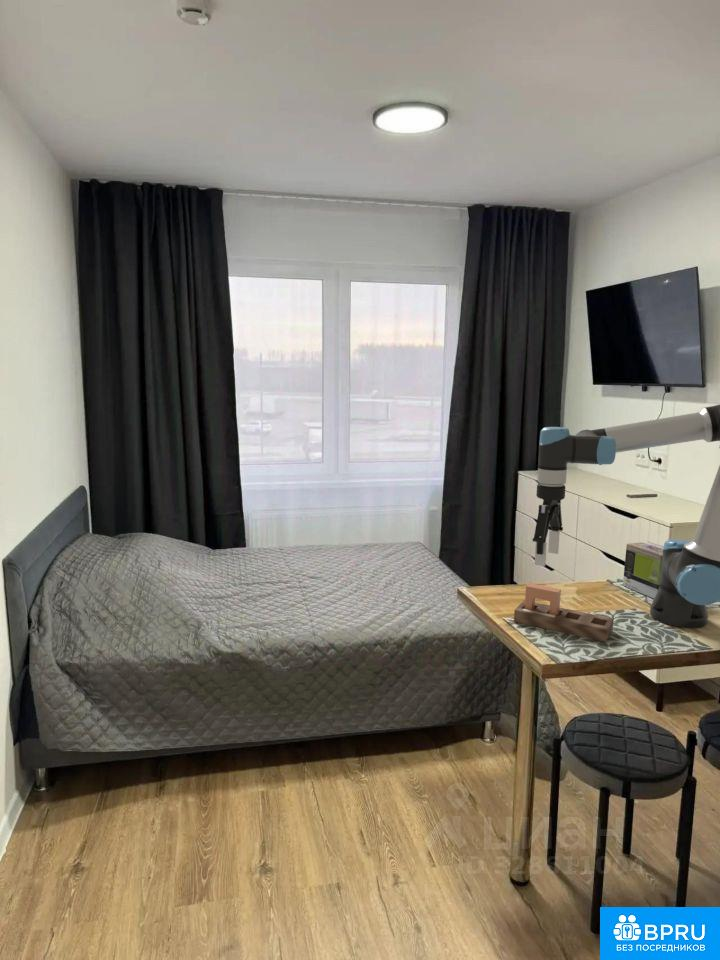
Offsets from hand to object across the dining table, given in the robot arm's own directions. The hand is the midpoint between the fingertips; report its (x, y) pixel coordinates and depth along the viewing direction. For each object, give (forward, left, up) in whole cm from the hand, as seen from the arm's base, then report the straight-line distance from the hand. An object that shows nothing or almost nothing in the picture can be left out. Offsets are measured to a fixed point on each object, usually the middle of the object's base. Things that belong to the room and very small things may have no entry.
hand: (546, 559), depth 184 cm
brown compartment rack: (-6, 0, -18) cm, 19 cm away
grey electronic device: (-23, -45, -19) cm, 54 cm away
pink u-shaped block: (0, 0, -18) cm, 18 cm away
